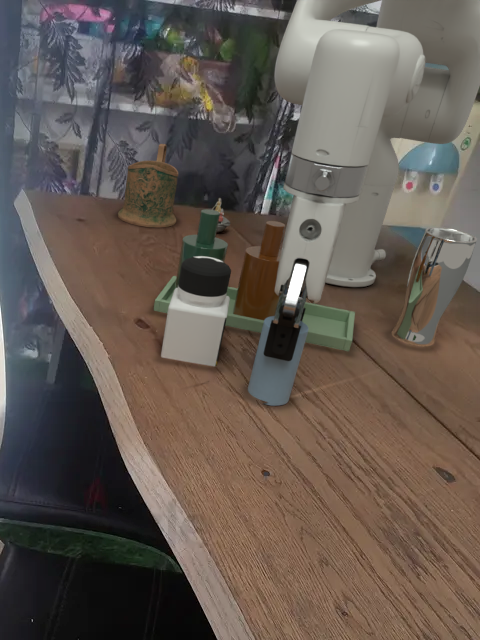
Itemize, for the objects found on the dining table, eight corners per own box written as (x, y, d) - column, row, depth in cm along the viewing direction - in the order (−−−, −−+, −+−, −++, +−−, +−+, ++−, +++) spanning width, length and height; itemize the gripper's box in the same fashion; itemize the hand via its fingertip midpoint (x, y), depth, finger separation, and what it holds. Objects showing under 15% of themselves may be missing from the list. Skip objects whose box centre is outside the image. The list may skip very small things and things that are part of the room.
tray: (351, 324, 109) (355, 311, 108) (348, 354, 100) (352, 340, 99) (171, 288, 114) (173, 275, 113) (152, 313, 105) (154, 299, 104)
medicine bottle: (215, 370, 92) (235, 275, 85) (159, 360, 93) (174, 265, 86) (219, 347, 98) (238, 257, 91) (166, 338, 99) (181, 248, 91)
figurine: (226, 229, 144) (232, 196, 141) (230, 235, 141) (237, 202, 137) (199, 226, 144) (205, 194, 140) (203, 233, 140) (209, 200, 137)
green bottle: (196, 293, 112) (212, 203, 105) (224, 308, 108) (243, 216, 101) (164, 298, 109) (177, 207, 101) (192, 314, 105) (208, 220, 97)
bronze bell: (183, 208, 153) (193, 145, 146) (171, 230, 139) (181, 162, 132) (129, 200, 155) (136, 137, 148) (112, 221, 141) (119, 153, 134)
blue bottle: (267, 382, 91) (290, 291, 84) (297, 400, 87) (324, 307, 81) (238, 391, 88) (259, 297, 81) (268, 409, 85) (293, 314, 78)
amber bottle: (254, 304, 111) (275, 215, 103) (285, 320, 107) (309, 228, 99) (223, 311, 107) (242, 218, 100) (254, 327, 103) (276, 232, 96)
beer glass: (436, 336, 108) (476, 232, 99) (437, 354, 103) (480, 246, 94) (387, 326, 110) (423, 223, 101) (386, 343, 104) (424, 235, 95)
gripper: (360, 203, 66) (306, 386, 77) (364, 168, 79) (318, 328, 90) (277, 189, 67) (236, 370, 78) (294, 157, 81) (257, 316, 91)
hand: (280, 346), depth 84 cm, fingers closed on blue bottle, 5 cm apart
